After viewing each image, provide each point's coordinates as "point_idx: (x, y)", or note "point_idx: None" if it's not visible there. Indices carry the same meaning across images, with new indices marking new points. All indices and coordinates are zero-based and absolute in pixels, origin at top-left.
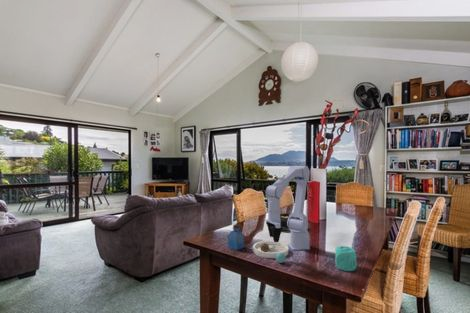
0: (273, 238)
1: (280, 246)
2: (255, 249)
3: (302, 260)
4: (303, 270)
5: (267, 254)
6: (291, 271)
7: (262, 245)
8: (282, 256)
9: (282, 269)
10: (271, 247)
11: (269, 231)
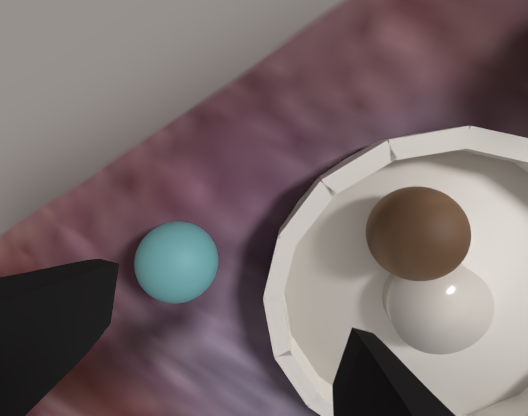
0: (54, 269)
1: (461, 411)
2: (441, 131)
3: (181, 398)
4: None
5: (301, 202)
6: (50, 241)
7: (419, 207)
8: (134, 268)
9: (87, 202)
10: (418, 309)
11: (389, 392)
